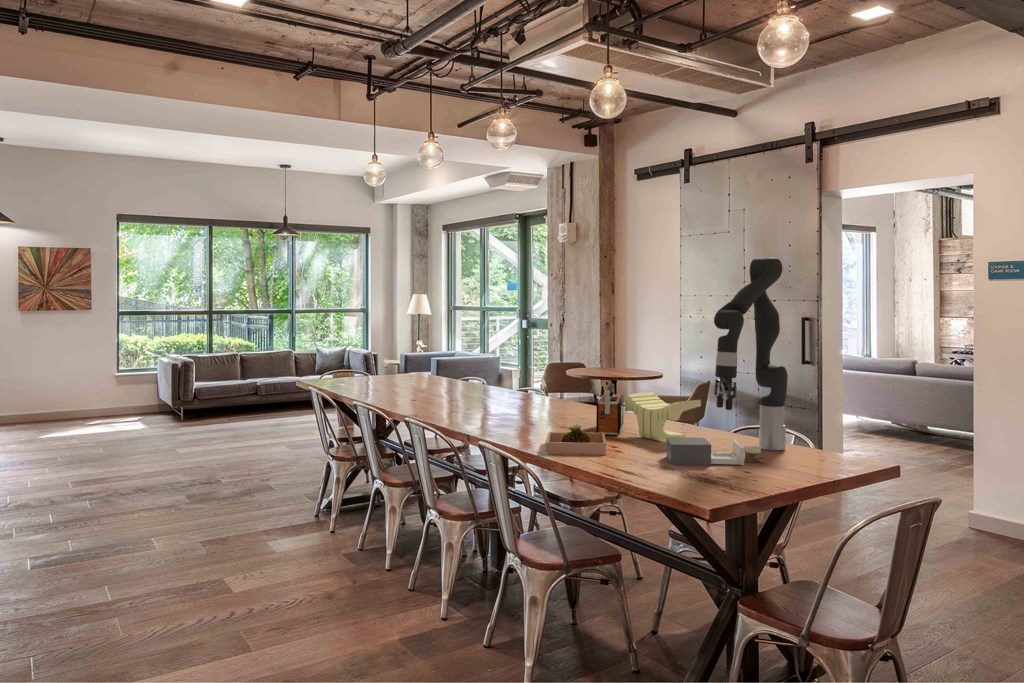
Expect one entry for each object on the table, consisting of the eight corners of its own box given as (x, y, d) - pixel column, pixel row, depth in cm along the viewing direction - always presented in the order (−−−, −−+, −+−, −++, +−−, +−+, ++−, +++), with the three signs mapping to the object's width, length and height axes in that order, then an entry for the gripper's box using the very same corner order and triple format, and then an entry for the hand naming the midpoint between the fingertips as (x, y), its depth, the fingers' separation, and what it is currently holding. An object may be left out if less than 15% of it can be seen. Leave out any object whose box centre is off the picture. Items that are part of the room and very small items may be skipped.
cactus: (561, 444, 309) (561, 420, 308) (599, 446, 303) (599, 422, 303) (549, 452, 292) (549, 427, 292) (589, 454, 287) (589, 429, 287)
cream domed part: (758, 450, 275) (758, 446, 275) (762, 453, 269) (762, 449, 269) (741, 450, 276) (742, 445, 276) (745, 453, 270) (745, 449, 270)
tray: (735, 457, 279) (735, 440, 279) (743, 465, 265) (743, 447, 265) (697, 456, 281) (697, 440, 280) (703, 464, 267) (703, 447, 266)
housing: (705, 457, 281) (705, 437, 280) (711, 465, 266) (711, 445, 266) (666, 456, 282) (666, 437, 281) (670, 464, 268) (671, 444, 267)
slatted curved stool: (624, 434, 328) (624, 394, 327) (652, 431, 336) (653, 392, 335) (670, 446, 302) (671, 402, 301) (700, 442, 310) (700, 399, 309)
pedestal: (757, 460, 275) (757, 450, 275) (760, 463, 270) (760, 453, 270) (743, 459, 276) (743, 450, 275) (746, 462, 271) (746, 453, 270)
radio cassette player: (619, 437, 323) (619, 391, 322) (595, 436, 325) (595, 390, 324) (623, 426, 351) (623, 383, 350) (601, 425, 354) (601, 383, 352)
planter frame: (604, 443, 308) (604, 432, 308) (606, 454, 285) (606, 443, 285) (548, 442, 310) (548, 432, 310) (545, 453, 287) (545, 442, 287)
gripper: (744, 366, 268) (741, 411, 269) (728, 364, 283) (726, 407, 283) (724, 365, 268) (721, 410, 268) (709, 363, 282) (707, 406, 282)
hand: (724, 408), depth 275 cm, fingers open, 8 cm apart
